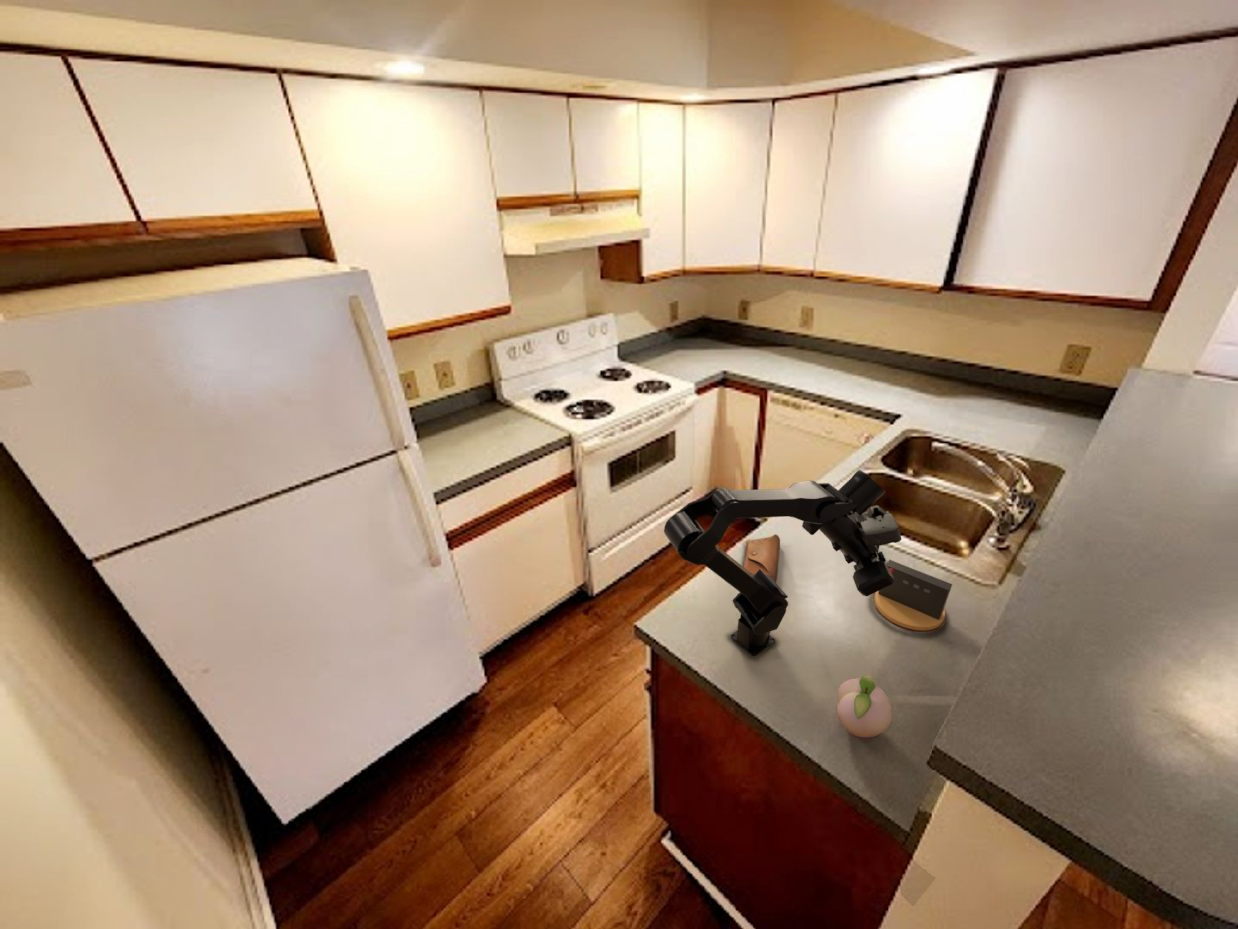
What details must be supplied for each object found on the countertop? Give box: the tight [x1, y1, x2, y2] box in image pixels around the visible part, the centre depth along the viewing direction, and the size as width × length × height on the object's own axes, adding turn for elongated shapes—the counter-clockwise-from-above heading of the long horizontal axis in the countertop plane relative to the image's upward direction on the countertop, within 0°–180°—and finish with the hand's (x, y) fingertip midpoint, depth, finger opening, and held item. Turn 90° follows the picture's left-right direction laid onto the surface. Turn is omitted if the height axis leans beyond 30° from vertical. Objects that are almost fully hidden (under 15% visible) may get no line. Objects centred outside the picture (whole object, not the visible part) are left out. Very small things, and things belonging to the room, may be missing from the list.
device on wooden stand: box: [874, 559, 953, 630], centre depth 111 cm, size 13×13×9 cm
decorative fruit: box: [836, 675, 892, 738], centre depth 88 cm, size 9×8×10 cm
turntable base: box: [871, 592, 947, 633], centre depth 113 cm, size 14×14×1 cm
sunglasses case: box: [742, 534, 781, 583], centre depth 127 cm, size 18×7×7 cm
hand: (885, 576), depth 105 cm, fingers closed
